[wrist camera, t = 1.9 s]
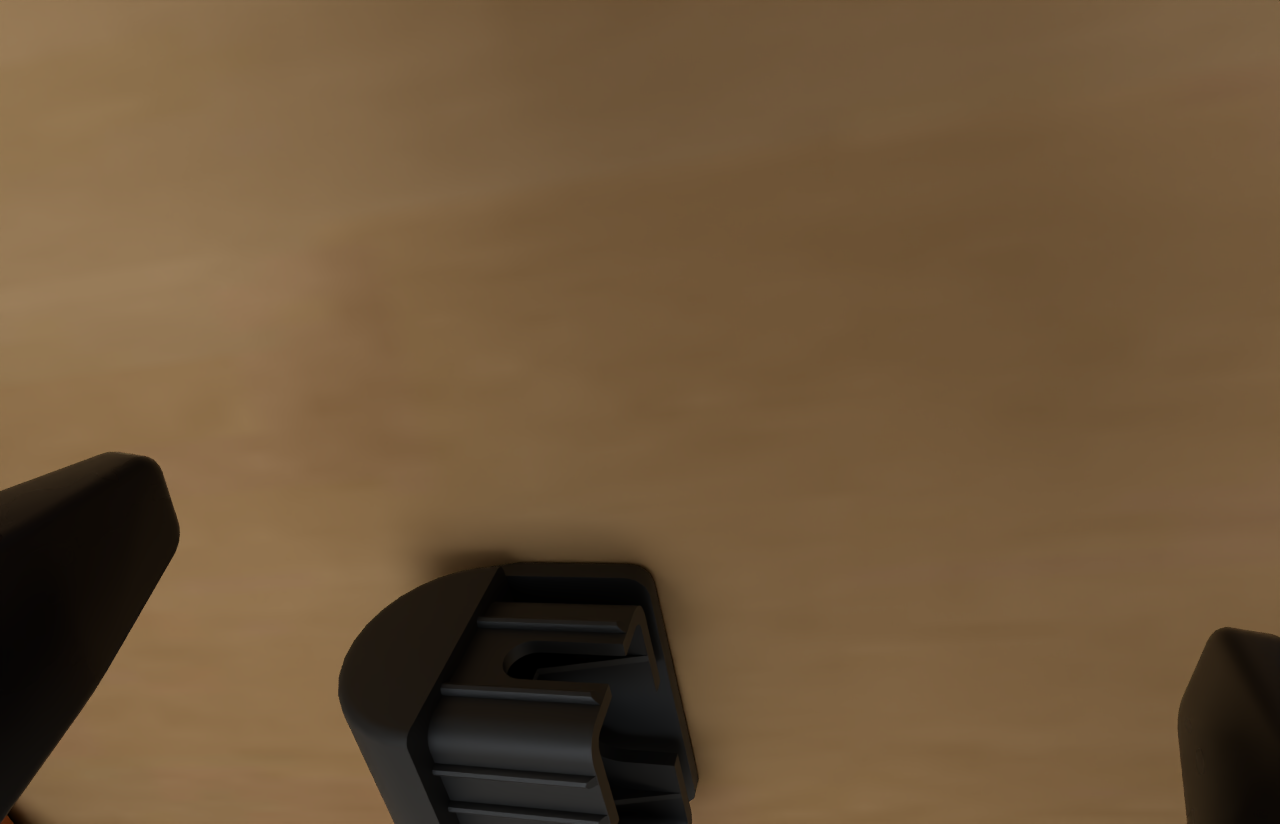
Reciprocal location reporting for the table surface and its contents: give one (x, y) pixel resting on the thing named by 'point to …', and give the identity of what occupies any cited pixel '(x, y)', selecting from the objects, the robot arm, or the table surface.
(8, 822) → the cheeseburger
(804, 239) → the table surface
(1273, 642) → the robot arm
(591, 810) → the end cap
